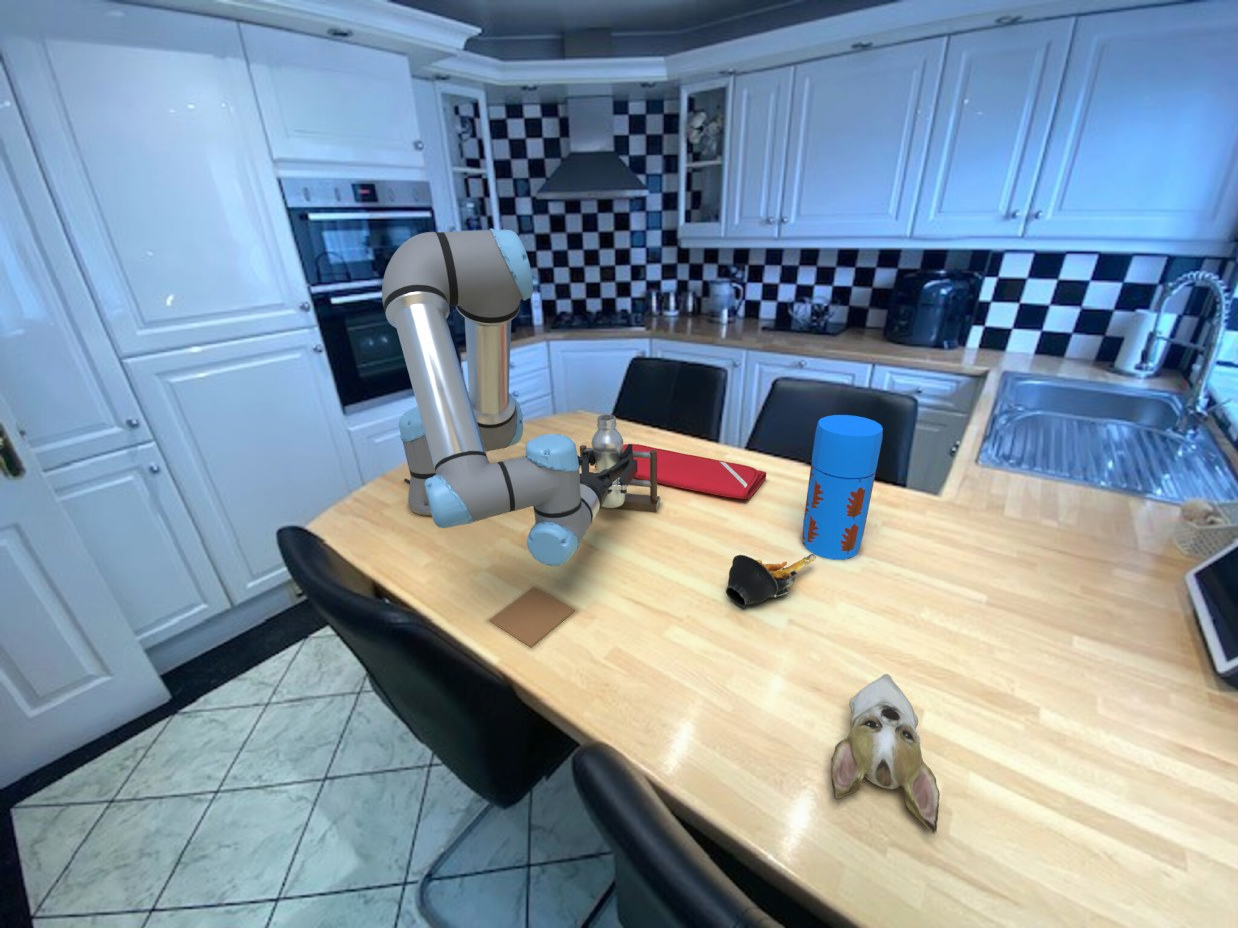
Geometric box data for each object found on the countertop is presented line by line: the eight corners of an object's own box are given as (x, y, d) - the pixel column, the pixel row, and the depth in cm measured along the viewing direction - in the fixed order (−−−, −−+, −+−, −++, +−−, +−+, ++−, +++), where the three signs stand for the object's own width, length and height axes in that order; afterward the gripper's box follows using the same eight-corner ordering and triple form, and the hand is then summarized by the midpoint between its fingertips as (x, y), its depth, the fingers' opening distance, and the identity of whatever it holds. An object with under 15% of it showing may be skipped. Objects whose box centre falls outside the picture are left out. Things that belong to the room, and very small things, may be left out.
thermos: (861, 535, 102) (884, 418, 91) (859, 565, 93) (884, 440, 82) (804, 524, 106) (819, 412, 95) (797, 552, 97) (813, 432, 87)
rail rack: (580, 504, 118) (575, 449, 112) (586, 496, 121) (581, 442, 115) (656, 512, 113) (655, 455, 107) (659, 503, 116) (659, 448, 110)
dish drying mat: (625, 449, 145) (624, 437, 144) (766, 479, 125) (768, 465, 124) (594, 471, 133) (593, 458, 132) (745, 507, 113) (746, 493, 112)
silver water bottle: (623, 512, 106) (619, 424, 98) (592, 510, 108) (586, 422, 99) (629, 497, 112) (626, 412, 103) (599, 495, 113) (594, 411, 105)
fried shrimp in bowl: (704, 573, 85) (765, 507, 93) (734, 621, 88) (791, 553, 96) (743, 583, 77) (806, 510, 85) (774, 635, 80) (833, 560, 88)
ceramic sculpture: (940, 676, 59) (957, 803, 48) (924, 723, 64) (936, 851, 52) (842, 652, 64) (835, 763, 52) (833, 697, 68) (825, 810, 56)
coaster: (489, 621, 84) (489, 619, 84) (533, 589, 91) (533, 587, 91) (531, 647, 78) (530, 645, 78) (574, 611, 85) (574, 609, 85)
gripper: (533, 513, 94) (575, 460, 114) (633, 524, 89) (658, 467, 109) (528, 477, 90) (572, 429, 110) (632, 486, 86) (658, 435, 106)
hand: (615, 448), depth 110 cm, fingers closed on silver water bottle, 6 cm apart
